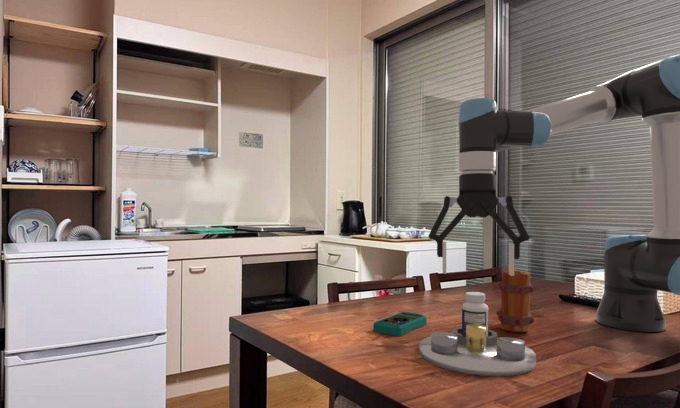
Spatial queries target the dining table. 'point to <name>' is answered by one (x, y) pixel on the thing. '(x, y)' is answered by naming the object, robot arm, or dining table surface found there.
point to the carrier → (478, 352)
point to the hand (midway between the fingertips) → (477, 273)
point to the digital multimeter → (400, 323)
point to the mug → (515, 301)
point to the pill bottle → (475, 311)
